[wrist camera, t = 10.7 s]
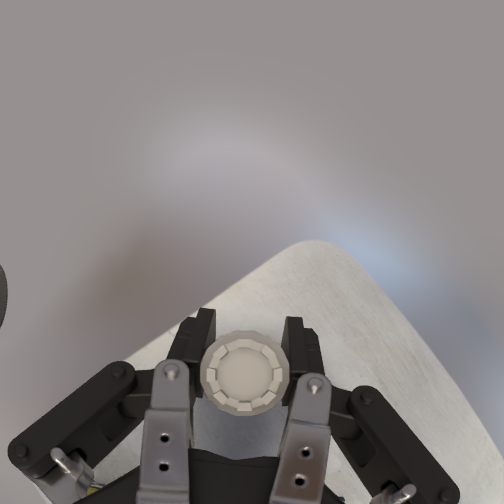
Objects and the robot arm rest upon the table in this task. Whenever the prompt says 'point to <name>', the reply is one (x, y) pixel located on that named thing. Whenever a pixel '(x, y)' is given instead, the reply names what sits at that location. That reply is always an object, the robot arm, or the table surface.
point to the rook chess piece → (244, 373)
